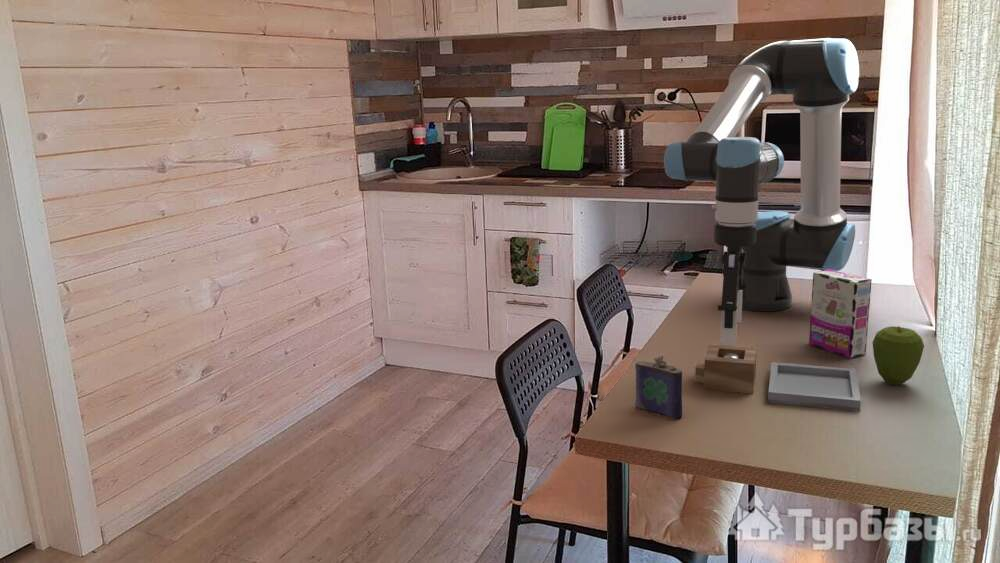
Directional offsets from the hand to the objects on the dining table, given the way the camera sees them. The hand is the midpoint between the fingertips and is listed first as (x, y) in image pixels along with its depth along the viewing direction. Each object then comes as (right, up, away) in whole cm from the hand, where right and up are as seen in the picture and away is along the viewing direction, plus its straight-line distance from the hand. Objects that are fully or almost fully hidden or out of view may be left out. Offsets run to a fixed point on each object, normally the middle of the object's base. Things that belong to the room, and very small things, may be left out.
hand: (731, 332), depth 152 cm
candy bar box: (+28, -5, +18) cm, 33 cm away
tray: (+15, -11, -2) cm, 18 cm away
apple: (+31, -10, -1) cm, 32 cm away
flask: (-16, -14, -9) cm, 23 cm away
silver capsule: (+1, -10, +3) cm, 10 cm away
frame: (+1, -10, +3) cm, 10 cm away
